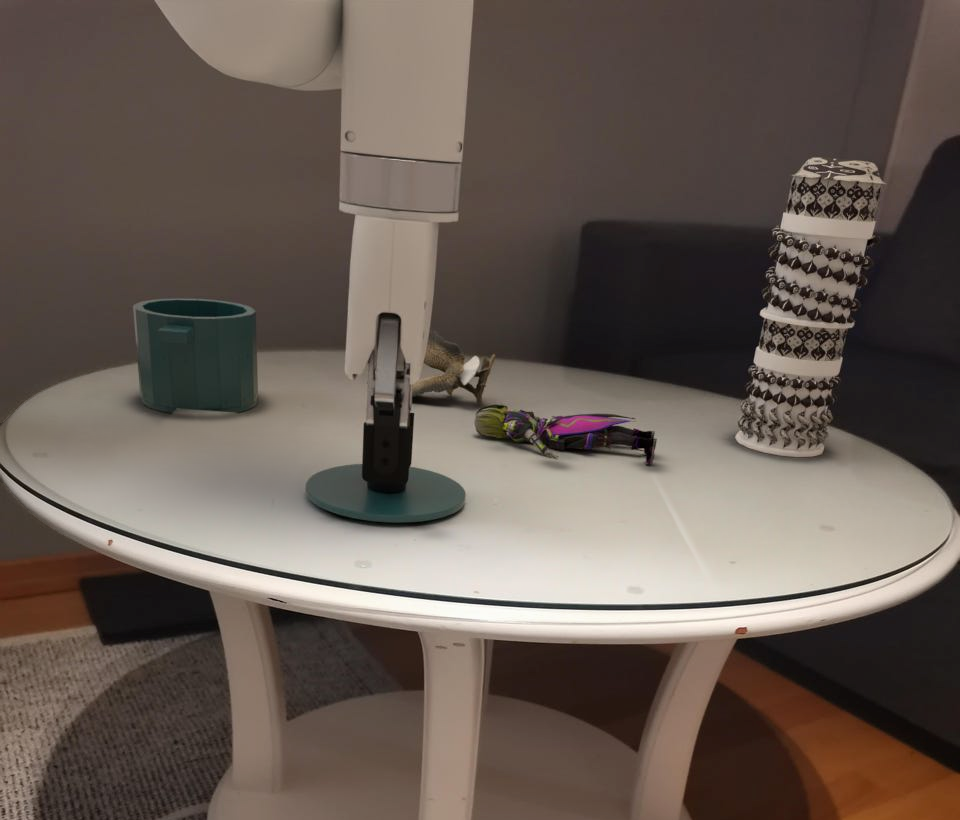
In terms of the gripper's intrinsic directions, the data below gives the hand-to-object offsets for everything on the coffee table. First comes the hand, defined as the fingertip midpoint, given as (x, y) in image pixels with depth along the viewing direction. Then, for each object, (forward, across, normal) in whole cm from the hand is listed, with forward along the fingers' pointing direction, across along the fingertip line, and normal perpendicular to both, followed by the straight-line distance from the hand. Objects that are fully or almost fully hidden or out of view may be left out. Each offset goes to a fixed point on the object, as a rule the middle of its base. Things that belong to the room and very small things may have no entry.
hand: (387, 471), depth 69 cm
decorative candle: (+2, -26, +36) cm, 45 cm away
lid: (+2, 0, 0) cm, 2 cm away
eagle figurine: (+3, -34, +3) cm, 34 cm away
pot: (+3, -26, -20) cm, 33 cm away
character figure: (+3, -18, +14) cm, 23 cm away
